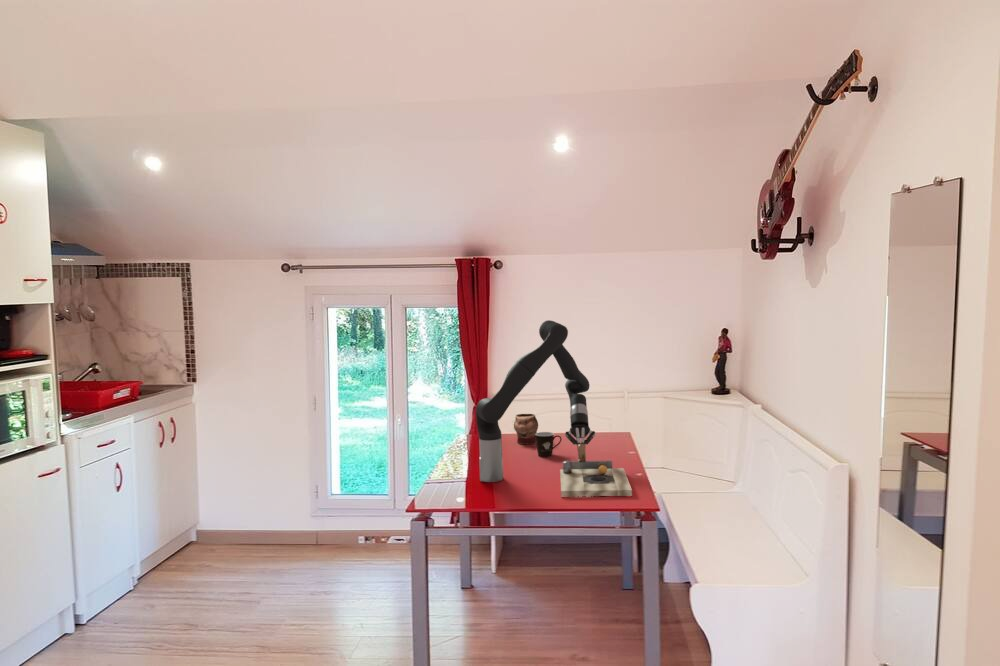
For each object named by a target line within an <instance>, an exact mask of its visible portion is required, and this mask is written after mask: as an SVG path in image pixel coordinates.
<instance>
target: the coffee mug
mask: <svg viewBox="0 0 1000 666" xmlns="http://www.w3.org/2000/svg"><path fill="white" fill-rule="evenodd" d="M535 437H536V442H535V444H536V450H537V456H538V457H539V458H551V457H552V456H553V452H554V451H553V450H554V449H555V448H556V447H558V446H559V445H560V444H561V443H562V436H560V435H555V433H553V432H551V431H540V432H537V433H536V434H535ZM557 437H558V438H559V439H560V440H559V441H558V443H557V444H556V445H554V441H555V438H557Z"/></svg>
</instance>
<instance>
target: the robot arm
mask: <svg viewBox="0 0 1000 666" xmlns="http://www.w3.org/2000/svg"><path fill="white" fill-rule="evenodd" d="M538 334H539V336H540V338H541V340H542V341H543V342H542V343H541V344H540V345H539V346H538V347H537V348H535V349H534V350H531V351H529V352H528V353H526V354H524V355H522V356H521V357H519V358H518V360H517V361H515V363H514V364H513V365H512V366H511V367H510V369H508V372H507V373H506V377H505V379H504V381H503V383H502V385H501V387H500V389H499V390H498V391H497V392H496V394H494V396H492V398H488V397H486V398H482V399H480V400H479V401H478V403H477V405H476V407H475V417H476V419H475V420H476V429H477V432H478V440H479V441H478V444H479V459H478V460H479V463H478V464H479V481H480V482H483V483H495V482H500V481H501V482H502V480H504V469H503V468H504V466H503V465H504V464H503V463H504V462H503V445H502V444H503V443H502V441H503V440H502V439H503V438H502V431H501V428H500V425H499V421H500V420H501V418H502V417H503V416H504V414H505V413H506V411H507V410H508V408H509V407H510V406H511V404H512V403H513V401H514V400H515V398H517V396H518V395H519V394H520V393H521V392H522V391H523V389H524V388H525V387H526V386H527V384H529V382H530V381H531V380H532V379H533V378H534V377H535V374H537V372H538V371H539V369H541V367H542V366H543V365H544V364H545V363H546V362H547V361H548V360H549V358H550V357H552V356H553V357H554V359H555V360H556V362H557V364H558V367H559V368H560V370H561V373H562V375H563V377H564V378H565V379H566V381H565V385H564V387H565V390H566V392H567V395H568V397H569V403H570V405H569V407H570V411H569V412H570V413H569V415H570V416H569V418H570V428H569V431H566V432H565V437H566V438H567V440H569V441H570V442H571V443H572V445H574V446H575V445H576V446H577V447H576V448H578V444H585V445H589V444H590V443H591V441H592V440H593V438H594V437H595V436H596V431H594V430H591V428H590V426H589V412H588V407H587V406H588V405H587V397H586V395H585V394H582V393H586V392H588V391H589V389H590V382H589V380H588V378H587V377H586V375H584V373H582V371H581V370H580V369H579V367H578V365H577V363H576V361H575V359H574V357H573V356H572V355H571V353H570V352H569V351H568V349H566V347H565V346H564V345H563V344H564V343H565V342H566V340H567V339H568V337H569V336H568V334H569V330H568V327H567V326H566V325H563V324H561V323H559V322H556V321H553V320H545V321H543V322H542V323H541V324H540V326H539V329H538ZM585 438H586V439H585Z"/></svg>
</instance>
